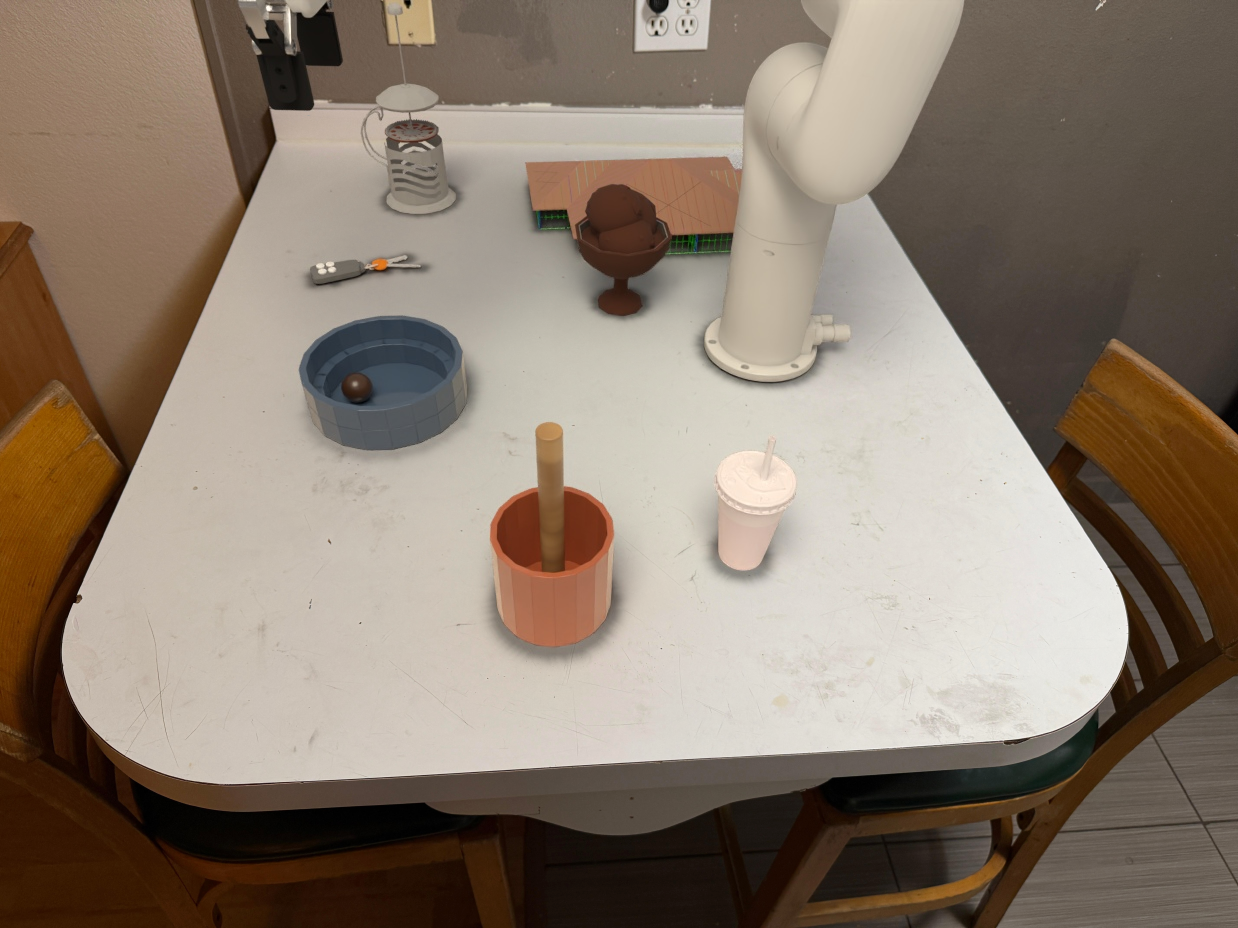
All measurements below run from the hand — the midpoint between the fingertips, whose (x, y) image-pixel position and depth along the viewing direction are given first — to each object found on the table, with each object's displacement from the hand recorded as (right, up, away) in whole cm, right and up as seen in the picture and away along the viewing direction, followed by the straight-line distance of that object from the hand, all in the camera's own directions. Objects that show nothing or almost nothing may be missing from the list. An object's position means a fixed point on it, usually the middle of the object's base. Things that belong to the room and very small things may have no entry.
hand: (309, 85), depth 65 cm
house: (+29, +5, +50) cm, 58 cm away
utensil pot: (+19, -41, +1) cm, 46 cm away
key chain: (-7, -6, +37) cm, 38 cm away
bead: (-2, -23, +18) cm, 29 cm away
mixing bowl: (+1, -24, +19) cm, 30 cm away
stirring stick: (+19, -41, +1) cm, 45 cm away
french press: (-4, +8, +52) cm, 52 cm away
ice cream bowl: (+25, -11, +34) cm, 43 cm away
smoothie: (+35, -38, +6) cm, 52 cm away
